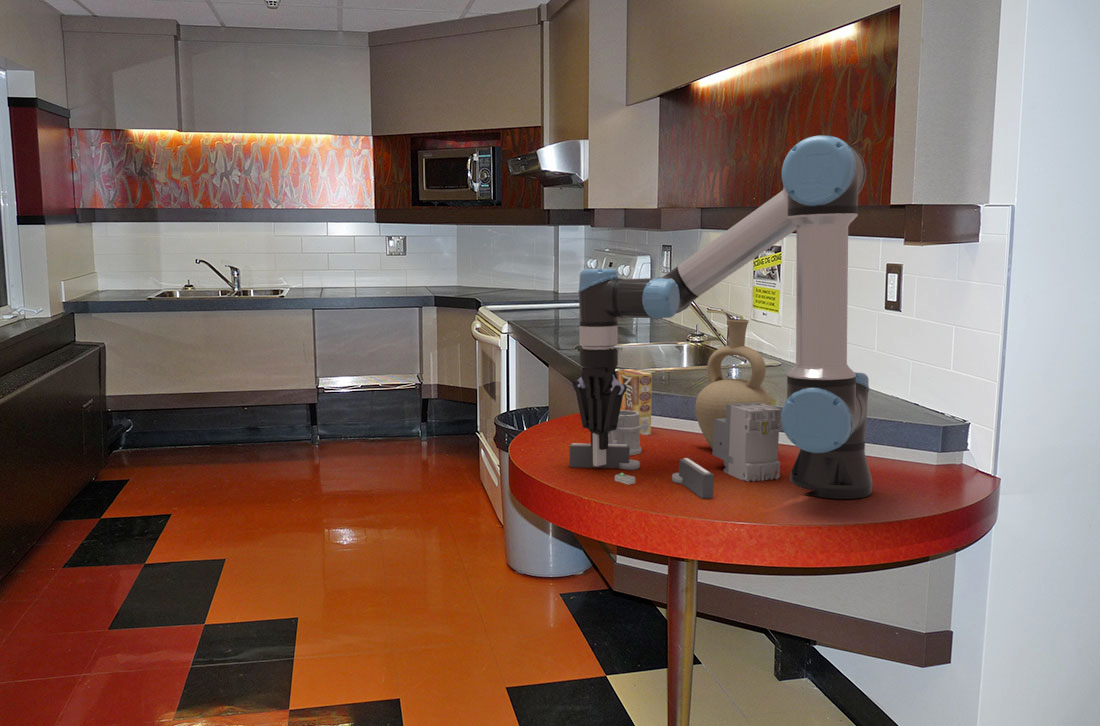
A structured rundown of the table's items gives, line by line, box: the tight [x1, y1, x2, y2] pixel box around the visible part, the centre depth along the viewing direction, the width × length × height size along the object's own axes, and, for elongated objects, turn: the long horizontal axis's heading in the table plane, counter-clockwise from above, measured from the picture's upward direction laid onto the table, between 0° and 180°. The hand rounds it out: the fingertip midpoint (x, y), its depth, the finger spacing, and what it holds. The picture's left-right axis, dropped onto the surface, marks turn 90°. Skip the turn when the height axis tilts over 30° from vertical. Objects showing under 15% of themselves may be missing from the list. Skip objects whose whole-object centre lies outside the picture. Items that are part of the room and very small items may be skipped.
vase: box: [695, 318, 773, 450], centre depth 203 cm, size 17×17×30 cm
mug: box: [608, 410, 642, 456], centre depth 198 cm, size 8×12×12 cm, turn 145°
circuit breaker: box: [712, 403, 783, 483], centre depth 183 cm, size 8×14×15 cm, turn 21°
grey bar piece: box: [671, 457, 715, 499], centre depth 170 cm, size 4×14×5 cm, turn 12°
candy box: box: [617, 368, 653, 436], centre depth 225 cm, size 9×4×15 cm, turn 32°
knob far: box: [569, 442, 641, 471], centre depth 185 cm, size 4×14×5 cm, turn 88°
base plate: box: [614, 472, 636, 486], centre depth 177 cm, size 24×15×3 cm, turn 43°
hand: (599, 464), depth 183 cm, fingers closed
